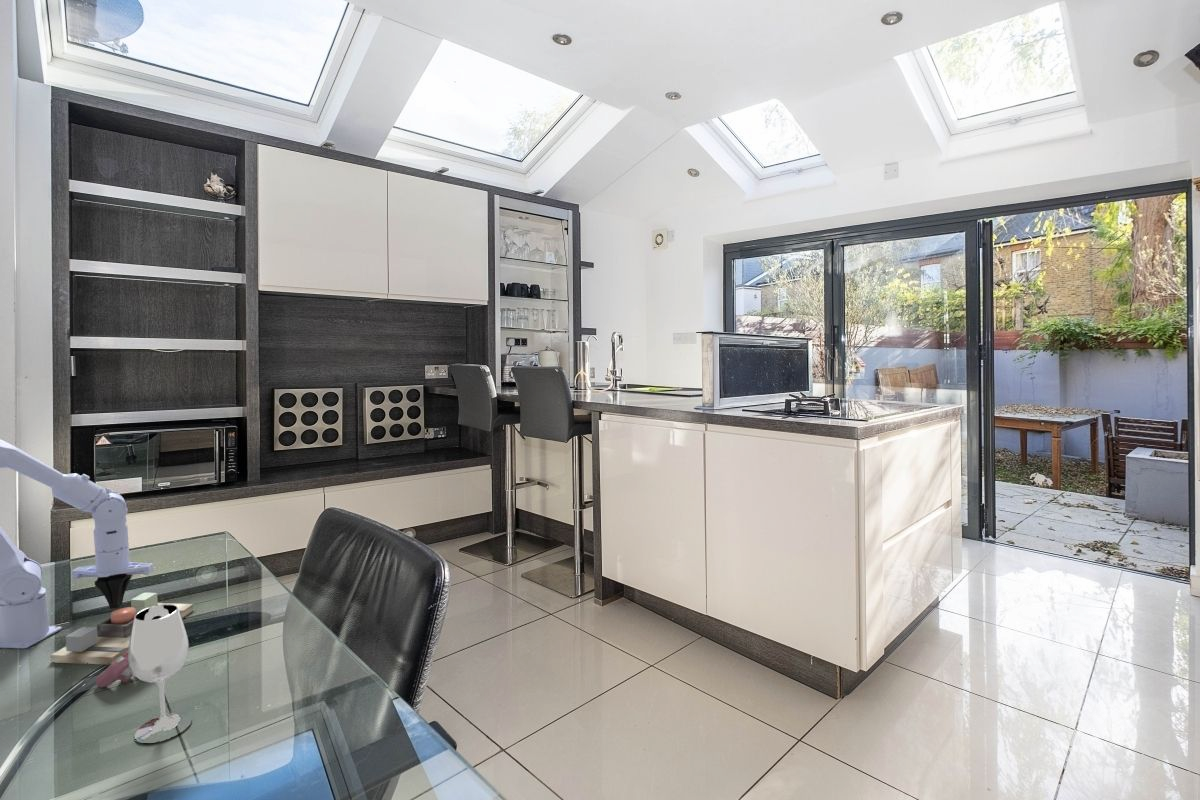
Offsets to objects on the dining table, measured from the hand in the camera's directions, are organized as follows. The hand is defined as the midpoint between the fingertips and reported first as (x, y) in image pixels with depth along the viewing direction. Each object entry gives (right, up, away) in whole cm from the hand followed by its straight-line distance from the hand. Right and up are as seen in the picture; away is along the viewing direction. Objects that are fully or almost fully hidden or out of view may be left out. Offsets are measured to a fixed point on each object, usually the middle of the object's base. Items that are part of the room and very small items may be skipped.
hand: (116, 606), depth 130 cm
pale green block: (+6, -1, 0) cm, 6 cm away
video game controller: (+20, -6, -21) cm, 30 cm away
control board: (+8, -3, -7) cm, 11 cm away
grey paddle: (+6, -2, -15) cm, 17 cm away
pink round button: (+8, -1, -8) cm, 12 cm away
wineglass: (+37, -8, -35) cm, 51 cm away
